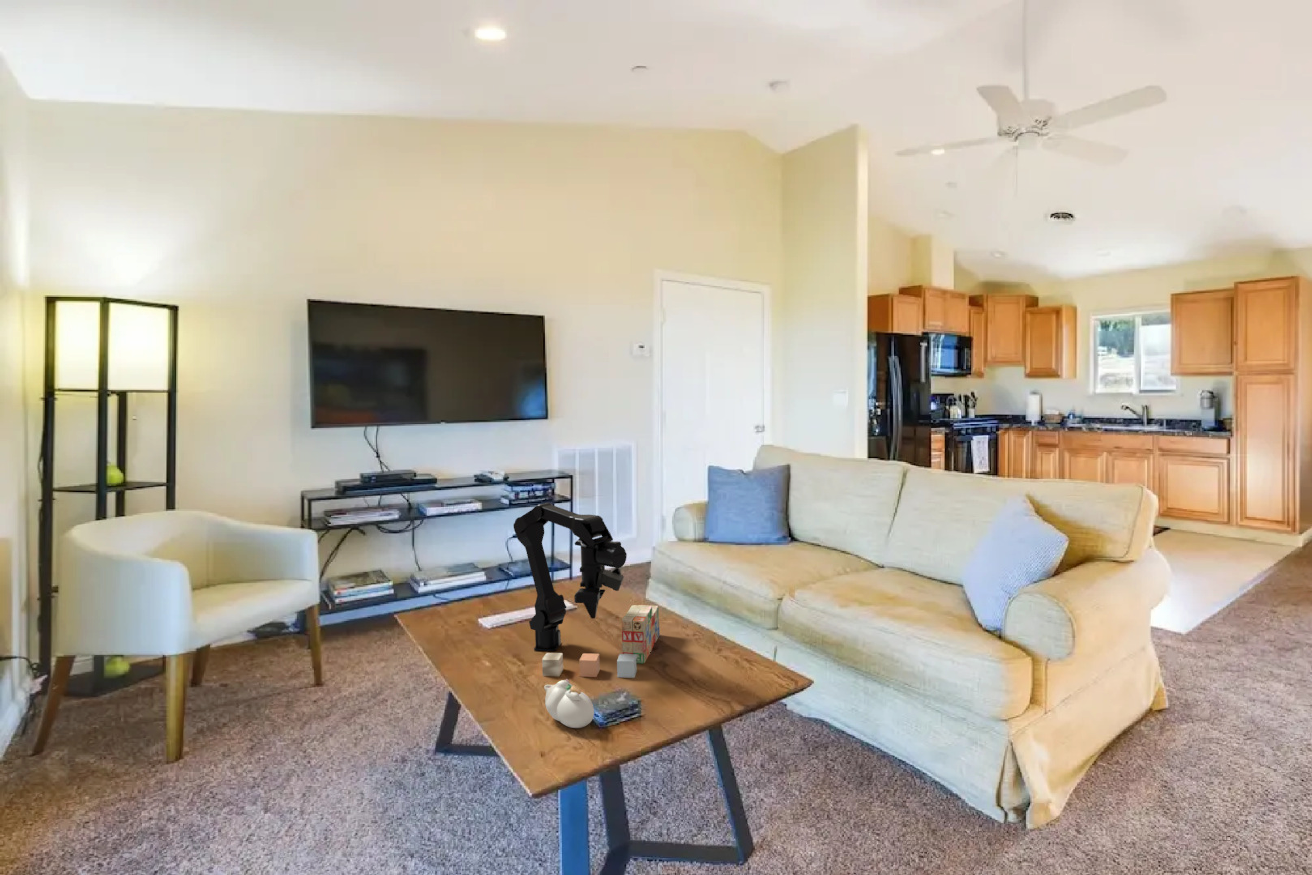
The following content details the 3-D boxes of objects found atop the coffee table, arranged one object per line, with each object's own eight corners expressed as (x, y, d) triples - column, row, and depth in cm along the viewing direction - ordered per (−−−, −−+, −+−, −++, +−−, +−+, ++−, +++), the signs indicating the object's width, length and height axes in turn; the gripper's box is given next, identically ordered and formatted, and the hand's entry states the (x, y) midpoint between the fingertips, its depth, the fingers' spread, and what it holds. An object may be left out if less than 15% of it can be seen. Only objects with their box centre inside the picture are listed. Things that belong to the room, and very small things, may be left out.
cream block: (542, 676, 176) (542, 659, 175) (547, 668, 180) (546, 652, 180) (559, 676, 175) (558, 659, 175) (563, 669, 180) (562, 653, 179)
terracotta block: (579, 676, 175) (579, 660, 174) (583, 669, 179) (582, 653, 179) (596, 677, 174) (596, 660, 174) (599, 669, 179) (599, 653, 178)
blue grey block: (617, 677, 174) (616, 660, 173) (619, 670, 178) (619, 654, 178) (634, 677, 173) (634, 661, 173) (636, 670, 178) (636, 654, 177)
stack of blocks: (639, 634, 204) (639, 594, 203) (659, 635, 203) (659, 595, 202) (622, 662, 183) (621, 619, 182) (644, 664, 182) (643, 620, 181)
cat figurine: (594, 689, 146) (551, 664, 156) (569, 719, 142) (526, 691, 151) (608, 715, 151) (565, 689, 161) (585, 744, 147) (542, 715, 156)
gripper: (615, 572, 171) (617, 631, 173) (625, 553, 190) (627, 607, 191) (573, 571, 172) (574, 630, 174) (587, 553, 191) (588, 606, 192)
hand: (593, 618), depth 183 cm, fingers closed
